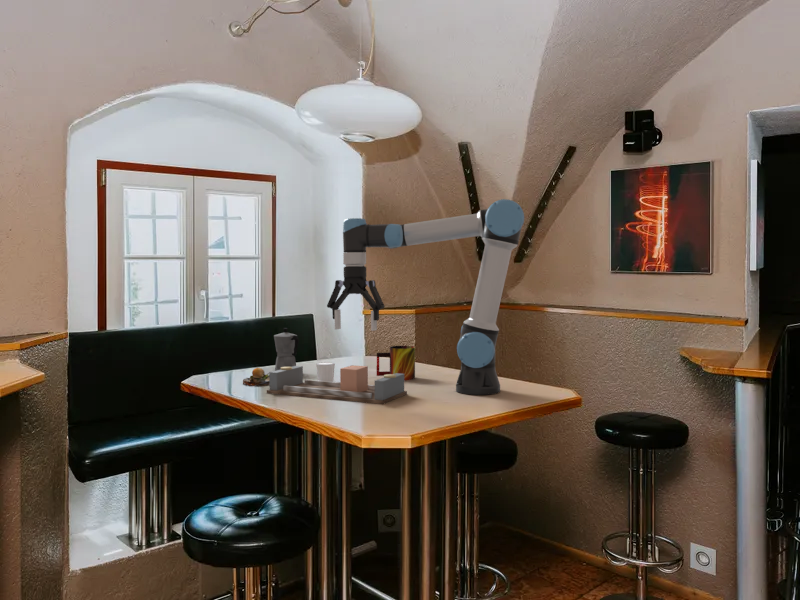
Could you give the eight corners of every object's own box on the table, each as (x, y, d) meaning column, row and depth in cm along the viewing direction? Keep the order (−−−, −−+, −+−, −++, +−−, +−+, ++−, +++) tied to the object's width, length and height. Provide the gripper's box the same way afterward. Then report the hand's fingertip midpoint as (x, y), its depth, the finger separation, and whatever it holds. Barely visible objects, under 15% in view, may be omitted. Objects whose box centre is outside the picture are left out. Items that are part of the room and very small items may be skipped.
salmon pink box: (367, 390, 232) (367, 366, 231) (356, 394, 224) (356, 369, 224) (352, 388, 234) (352, 365, 234) (340, 392, 227) (340, 368, 227)
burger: (282, 382, 255) (282, 362, 255) (262, 387, 245) (262, 366, 244) (256, 380, 261) (256, 360, 260) (235, 385, 250) (235, 364, 250)
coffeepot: (266, 371, 279) (266, 327, 278) (286, 369, 285) (286, 326, 284) (288, 376, 267) (287, 330, 266) (308, 373, 274) (307, 328, 273)
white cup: (331, 384, 251) (331, 364, 250) (313, 383, 252) (313, 364, 252) (337, 380, 258) (337, 362, 257) (319, 380, 259) (319, 361, 259)
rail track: (406, 394, 231) (406, 386, 231) (383, 404, 215) (383, 396, 215) (296, 384, 250) (296, 377, 250) (266, 393, 233) (266, 385, 233)
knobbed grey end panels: (405, 391, 230) (405, 372, 230) (384, 400, 216) (384, 379, 215) (294, 382, 249) (294, 364, 248) (268, 389, 234) (268, 370, 234)
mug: (375, 378, 262) (375, 347, 262) (406, 375, 270) (406, 345, 269) (388, 382, 254) (388, 350, 254) (419, 379, 261) (419, 347, 261)
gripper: (394, 265, 225) (394, 329, 227) (327, 265, 236) (328, 327, 237) (384, 265, 219) (384, 332, 220) (316, 265, 229) (317, 329, 230)
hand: (355, 329), depth 228 cm, fingers open, 13 cm apart
